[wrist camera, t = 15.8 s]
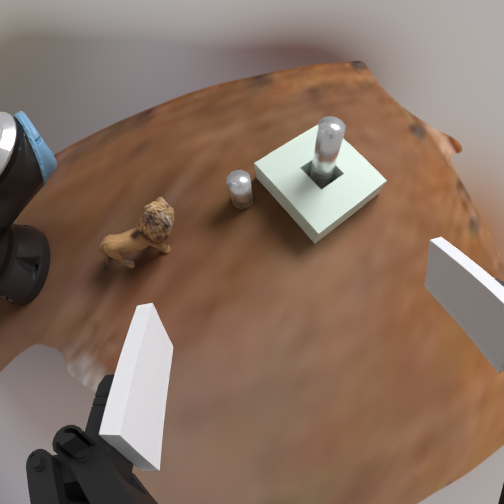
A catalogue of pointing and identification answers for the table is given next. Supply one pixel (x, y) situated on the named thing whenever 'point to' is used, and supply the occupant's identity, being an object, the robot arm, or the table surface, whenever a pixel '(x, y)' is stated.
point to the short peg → (240, 189)
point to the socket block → (308, 193)
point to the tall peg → (326, 150)
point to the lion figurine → (141, 234)
